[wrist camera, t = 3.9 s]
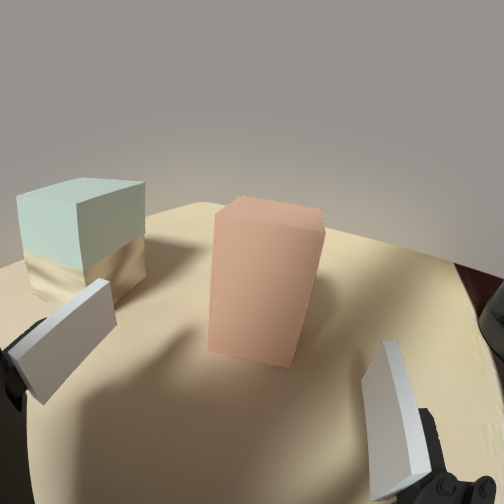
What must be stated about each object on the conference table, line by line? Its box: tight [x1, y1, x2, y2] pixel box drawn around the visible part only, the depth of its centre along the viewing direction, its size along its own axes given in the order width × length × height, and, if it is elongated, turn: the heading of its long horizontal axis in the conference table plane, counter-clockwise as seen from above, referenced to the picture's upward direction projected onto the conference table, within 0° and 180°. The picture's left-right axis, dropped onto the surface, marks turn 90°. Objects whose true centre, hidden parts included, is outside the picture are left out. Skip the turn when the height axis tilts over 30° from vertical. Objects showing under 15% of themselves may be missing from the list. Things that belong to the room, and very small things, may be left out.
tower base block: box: [23, 234, 146, 308], centre depth 23 cm, size 9×9×5 cm
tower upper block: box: [16, 178, 145, 272], centre depth 21 cm, size 9×9×5 cm
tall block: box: [208, 195, 326, 368], centre depth 19 cm, size 6×6×10 cm
